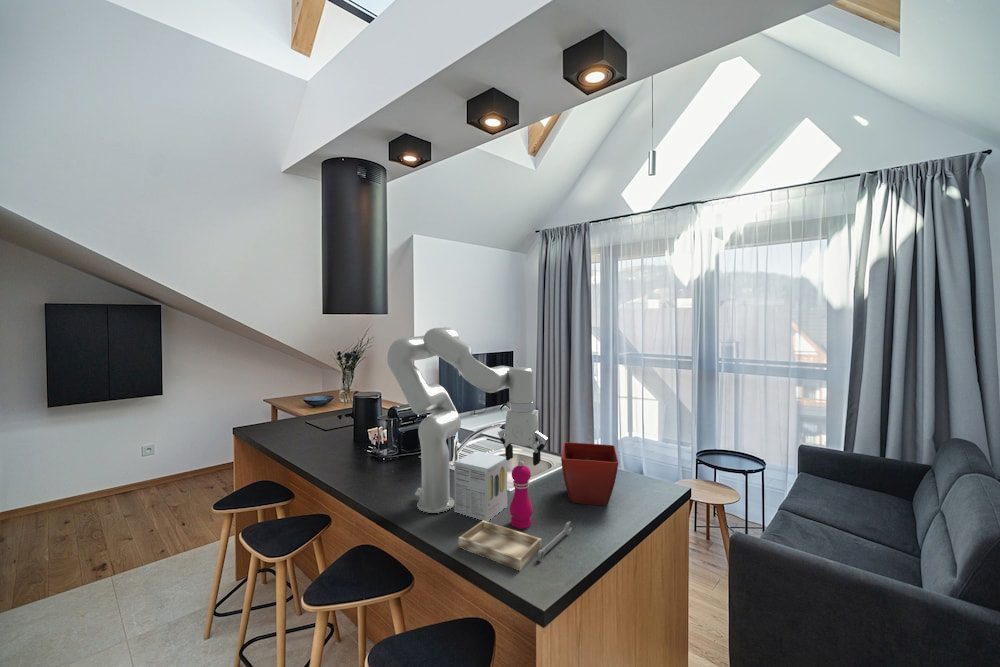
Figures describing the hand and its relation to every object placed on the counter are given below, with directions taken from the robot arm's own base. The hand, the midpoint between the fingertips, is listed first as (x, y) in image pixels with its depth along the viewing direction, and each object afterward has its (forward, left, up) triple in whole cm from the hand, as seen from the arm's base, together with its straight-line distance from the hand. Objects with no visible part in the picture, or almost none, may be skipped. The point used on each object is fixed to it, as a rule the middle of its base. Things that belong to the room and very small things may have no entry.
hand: (522, 461), depth 130 cm
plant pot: (+10, +30, -20) cm, 37 cm away
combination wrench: (+14, -6, -20) cm, 25 cm away
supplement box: (-17, +1, -20) cm, 26 cm away
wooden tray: (+1, -16, -20) cm, 25 cm away
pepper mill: (-1, 0, -20) cm, 20 cm away
